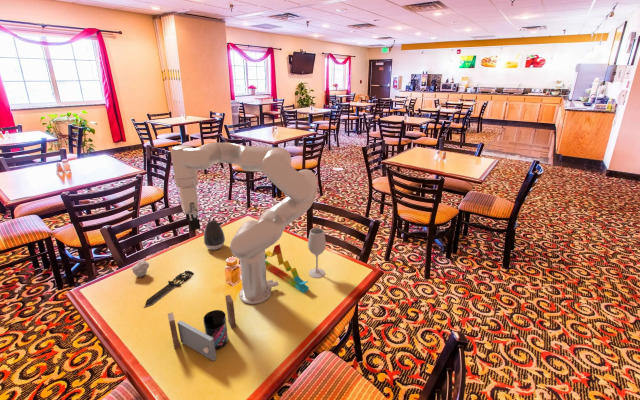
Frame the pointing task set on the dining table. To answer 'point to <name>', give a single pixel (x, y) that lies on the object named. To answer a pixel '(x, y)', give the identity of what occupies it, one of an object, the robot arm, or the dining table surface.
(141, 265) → the white rounded lump
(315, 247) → the wineglass
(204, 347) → the door
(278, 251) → the chart
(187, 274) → the knife
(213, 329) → the supplement container
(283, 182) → the robot arm
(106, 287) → the dining table surface
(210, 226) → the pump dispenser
